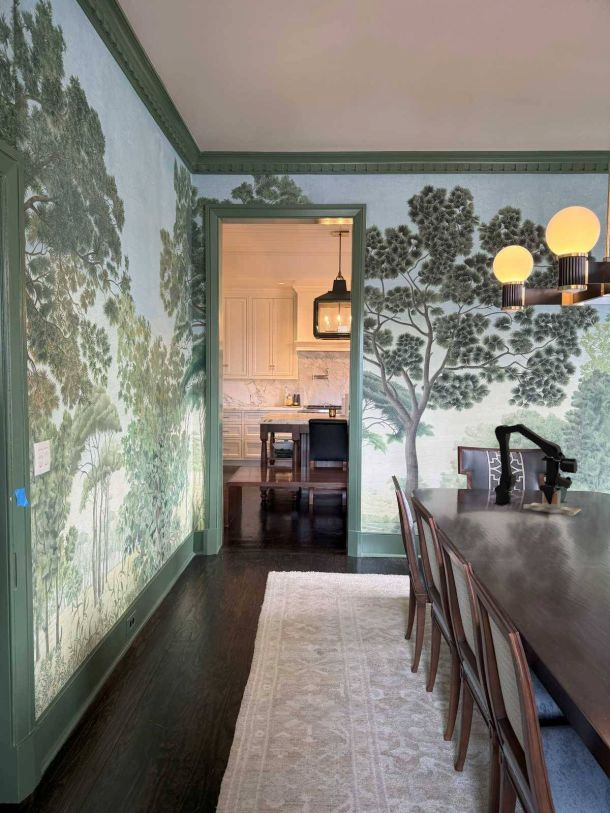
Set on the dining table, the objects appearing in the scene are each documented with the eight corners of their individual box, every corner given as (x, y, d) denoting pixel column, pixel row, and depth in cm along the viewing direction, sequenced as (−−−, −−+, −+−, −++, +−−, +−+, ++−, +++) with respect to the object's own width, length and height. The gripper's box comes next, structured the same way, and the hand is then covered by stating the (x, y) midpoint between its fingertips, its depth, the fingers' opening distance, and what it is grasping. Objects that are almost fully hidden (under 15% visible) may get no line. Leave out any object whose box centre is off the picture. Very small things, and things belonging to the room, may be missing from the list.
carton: (544, 504, 262) (545, 488, 262) (560, 507, 258) (560, 490, 257) (542, 506, 259) (542, 489, 258) (557, 508, 254) (558, 491, 254)
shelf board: (523, 510, 261) (523, 504, 260) (533, 504, 273) (533, 498, 273) (573, 518, 247) (573, 511, 247) (581, 511, 259) (581, 505, 259)
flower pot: (567, 504, 273) (568, 486, 273) (549, 504, 274) (550, 486, 273) (559, 500, 282) (560, 483, 282) (542, 500, 282) (542, 483, 282)
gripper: (565, 475, 245) (564, 509, 246) (575, 470, 259) (574, 502, 260) (539, 472, 252) (538, 506, 253) (550, 467, 266) (549, 499, 267)
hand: (551, 503), depth 258 cm, fingers closed on carton, 4 cm apart
